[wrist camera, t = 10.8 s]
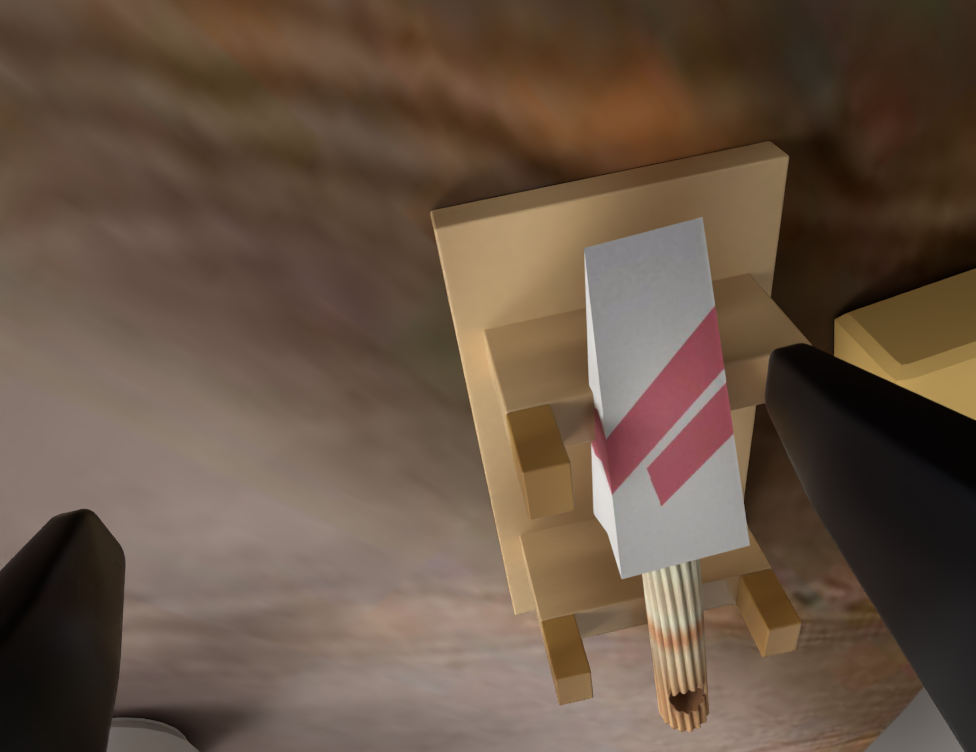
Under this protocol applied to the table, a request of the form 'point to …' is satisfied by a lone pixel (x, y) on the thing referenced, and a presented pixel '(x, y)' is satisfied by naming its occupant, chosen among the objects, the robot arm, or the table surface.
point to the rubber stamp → (919, 341)
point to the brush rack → (565, 379)
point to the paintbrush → (663, 441)
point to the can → (146, 737)
